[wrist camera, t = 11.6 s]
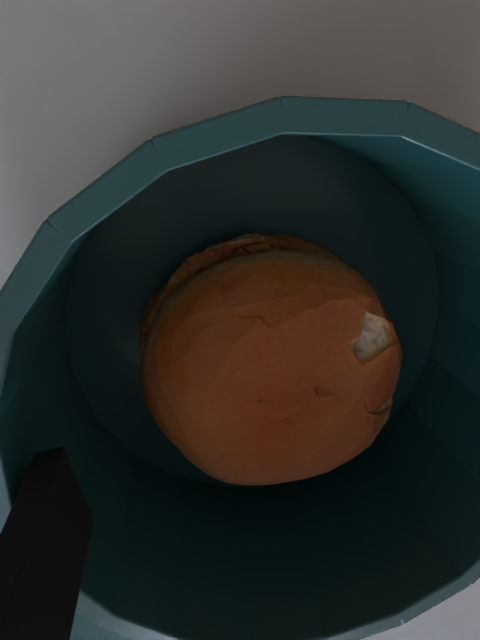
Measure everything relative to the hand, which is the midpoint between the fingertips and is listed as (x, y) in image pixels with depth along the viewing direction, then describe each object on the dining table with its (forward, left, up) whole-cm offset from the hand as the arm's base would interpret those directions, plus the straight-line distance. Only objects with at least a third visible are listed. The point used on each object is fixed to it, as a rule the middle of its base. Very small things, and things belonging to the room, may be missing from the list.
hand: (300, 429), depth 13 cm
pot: (0, 0, -7) cm, 7 cm away
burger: (0, 0, -7) cm, 7 cm away
